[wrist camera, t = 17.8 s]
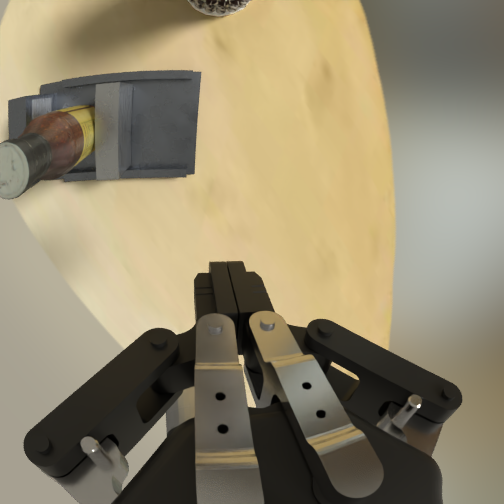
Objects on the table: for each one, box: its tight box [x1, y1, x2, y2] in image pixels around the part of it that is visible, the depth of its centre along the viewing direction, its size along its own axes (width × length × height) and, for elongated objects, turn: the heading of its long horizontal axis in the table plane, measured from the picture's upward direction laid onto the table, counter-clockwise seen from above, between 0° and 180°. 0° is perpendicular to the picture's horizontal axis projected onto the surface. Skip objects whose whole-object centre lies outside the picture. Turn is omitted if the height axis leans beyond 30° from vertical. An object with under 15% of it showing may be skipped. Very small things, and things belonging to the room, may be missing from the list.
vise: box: [8, 70, 201, 187], centre depth 28 cm, size 13×21×9 cm, turn 84°
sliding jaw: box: [95, 82, 133, 180], centre depth 28 cm, size 10×3×7 cm, turn 174°
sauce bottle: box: [0, 105, 95, 199], centre depth 22 cm, size 7×6×20 cm
